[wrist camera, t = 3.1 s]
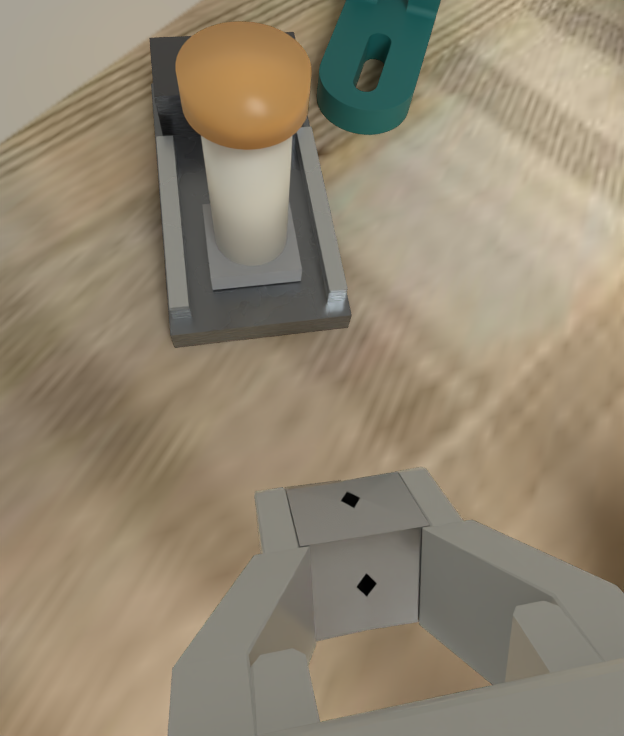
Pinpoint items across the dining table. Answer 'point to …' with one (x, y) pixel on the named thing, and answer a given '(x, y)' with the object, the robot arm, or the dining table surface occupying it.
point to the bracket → (382, 42)
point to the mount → (189, 246)
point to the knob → (246, 145)
